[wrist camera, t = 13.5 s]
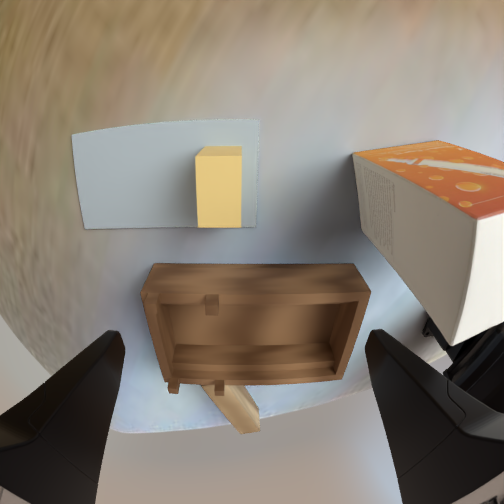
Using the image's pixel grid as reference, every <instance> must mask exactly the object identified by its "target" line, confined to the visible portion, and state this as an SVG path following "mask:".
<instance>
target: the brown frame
mask: <svg viewBox="0 0 504 504" xmlns="http://www.w3.org/2000/svg"><path fill="white" fill-rule="evenodd" d="M140 293H141V298H142V302H143V306H144V311H145V315H146V319H147V323H148V326H149V330H150V334H151V338H152V341H153V345H154V348H155V352H156V355H157V359H158V362H159V365H160V369H161V372H162V375H163V378H164V381H165V382H168V391H169V393H173V394H178V392H179V386H180V383H182V384H200V385H215V387H214V392H215V396H224V392H225V385H279V384H297V383H311V382H322V381H332V380H341V379H342V378H343V375H344V372H345V370H346V367H347V364H348V362H349V359H350V356H351V354H352V351H353V348H354V345H355V342H356V339H357V336H358V333H359V330H360V327H361V324H362V321H363V318H364V315H365V311H366V308H367V305H368V301H369V298H370V294H371V290H370V289H369V287H368V285H367V284H366V282H365V281H364V279H363V277H362V276H361V274H360V273H359V271H358V270H357V268H356V266H355V265H354V264H171V263H154V265H153V267H152V269H151V271H150V273H149V275H148V277H147V280H146V282H145V284H144V286H143V288H142V290H141V292H140Z"/></svg>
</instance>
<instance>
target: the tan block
mask: <svg viewBox="0 0 504 504" xmlns="http://www.w3.org/2000/svg"><path fill="white" fill-rule="evenodd" d="M201 387H202V388H203V389H204V390H205V392H206V393H207V394H208V396H209V397H210V398H211V399H212V401H213V402H214V403H215V404H216V406H217V407H218V408H219V409H220V410H221V412H222V413H223V414H224V415H225V417H226V418H227V419H228V420H229V421H230V422H231V424H232V425H233V426H234V427H235V428H236V429H237V431H238V432H239V433H240V434H245V433H252V432H258V431H260V423H259V409H258V407H257V405H256V404H255V402H254V401H253V399H252V397H251V396H250V394H249V393H248V391H247V389H246V388H245V386H244V385H225V392H224V396H215V392H214V387H215V385H201Z"/></svg>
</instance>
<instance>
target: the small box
mask: <svg viewBox="0 0 504 504" xmlns="http://www.w3.org/2000/svg"><path fill="white" fill-rule="evenodd" d="M352 157H353V163H354V169H355V177H356V184H357V192H358V201H359V210H360V220H361V230H362V231H363V233H364V234H365V235H366V236H367V237H368V238H369V240H370V241H371V242H372V243H373V244H374V246H375V247H376V248H377V249H378V250H379V252H380V253H381V254H382V255H383V256H384V257H385V259H386V260H387V261H388V262H389V264H390V265H391V266H392V267H393V268H394V270H395V271H396V272H397V273H398V275H399V276H400V277H401V278H402V280H403V281H404V282H405V284H406V285H407V286H408V288H409V289H410V290H411V291H412V293H413V294H414V295H415V297H416V298H417V299H418V301H419V302H420V303H421V305H422V306H423V307H424V309H425V310H426V311H427V313H428V314H429V316H430V317H431V318H432V320H433V321H434V323H435V324H436V326H437V327H438V328H439V330H440V331H441V333H442V334H443V336H444V338H445V339H446V341H447V342H448V344H449V345H450V346H454V345H456V344H458V343H460V342H462V341H464V340H467V339H469V338H471V337H473V336H475V335H477V334H479V333H481V332H483V331H485V330H487V329H489V328H491V327H493V326H495V325H498V324H500V323H502V322H504V162H502V161H499V160H497V159H494V158H491V157H489V156H486V155H483V154H480V153H477V152H474V151H471V150H468V149H465V148H462V147H459V146H456V145H453V144H450V143H446V142H442V141H439V140H436V141H431V142H425V143H418V144H410V145H403V146H396V147H389V148H382V149H375V150H368V151H361V152H354V153H353V154H352Z"/></svg>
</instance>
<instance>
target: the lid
mask: <svg viewBox="0 0 504 504" xmlns="http://www.w3.org/2000/svg"><path fill="white" fill-rule="evenodd" d="M72 145H73V156H74V165H75V173H76V181H77V188H78V194H79V201H80V206H81V212H82V217H83V222H84V227H85V229H110V228H160V227H198V228H241V227H256V216H257V183H258V149H259V119H209V120H185V121H170V122H157V123H147V124H137V125H129V126H121V127H114V128H107V129H101V130H95V131H89V132H83V133H78V134H73V135H72Z"/></svg>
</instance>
